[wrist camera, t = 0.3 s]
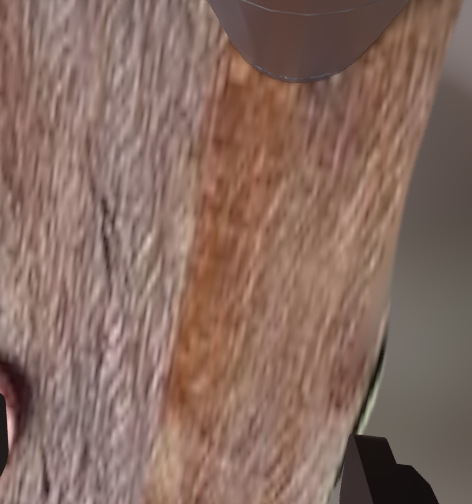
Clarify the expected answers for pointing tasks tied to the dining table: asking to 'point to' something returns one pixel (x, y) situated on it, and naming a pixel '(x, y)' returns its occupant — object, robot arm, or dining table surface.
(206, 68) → the dining table surface
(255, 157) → the dining table surface
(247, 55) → the robot arm
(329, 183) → the dining table surface
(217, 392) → the dining table surface
